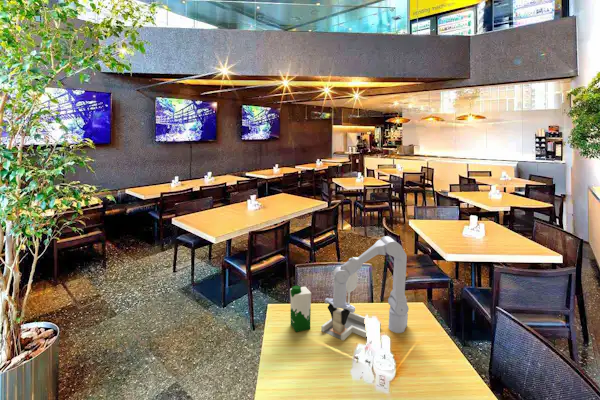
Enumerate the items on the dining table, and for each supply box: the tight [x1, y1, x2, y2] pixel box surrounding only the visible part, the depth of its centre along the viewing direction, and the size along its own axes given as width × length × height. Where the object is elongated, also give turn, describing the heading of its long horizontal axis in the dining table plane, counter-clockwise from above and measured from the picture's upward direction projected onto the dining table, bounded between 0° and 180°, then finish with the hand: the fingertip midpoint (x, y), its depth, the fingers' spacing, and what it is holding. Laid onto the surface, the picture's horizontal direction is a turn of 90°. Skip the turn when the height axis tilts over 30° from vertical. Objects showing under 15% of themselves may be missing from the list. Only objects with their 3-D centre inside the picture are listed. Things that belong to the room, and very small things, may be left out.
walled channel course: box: [320, 309, 382, 341], centre depth 142 cm, size 19×20×3 cm
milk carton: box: [289, 285, 312, 333], centre depth 144 cm, size 9×9×20 cm
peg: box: [333, 308, 345, 333], centre depth 141 cm, size 4×4×9 cm
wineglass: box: [346, 271, 359, 308], centre depth 161 cm, size 9×9×21 cm
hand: (339, 322), depth 141 cm, fingers open, 5 cm apart
